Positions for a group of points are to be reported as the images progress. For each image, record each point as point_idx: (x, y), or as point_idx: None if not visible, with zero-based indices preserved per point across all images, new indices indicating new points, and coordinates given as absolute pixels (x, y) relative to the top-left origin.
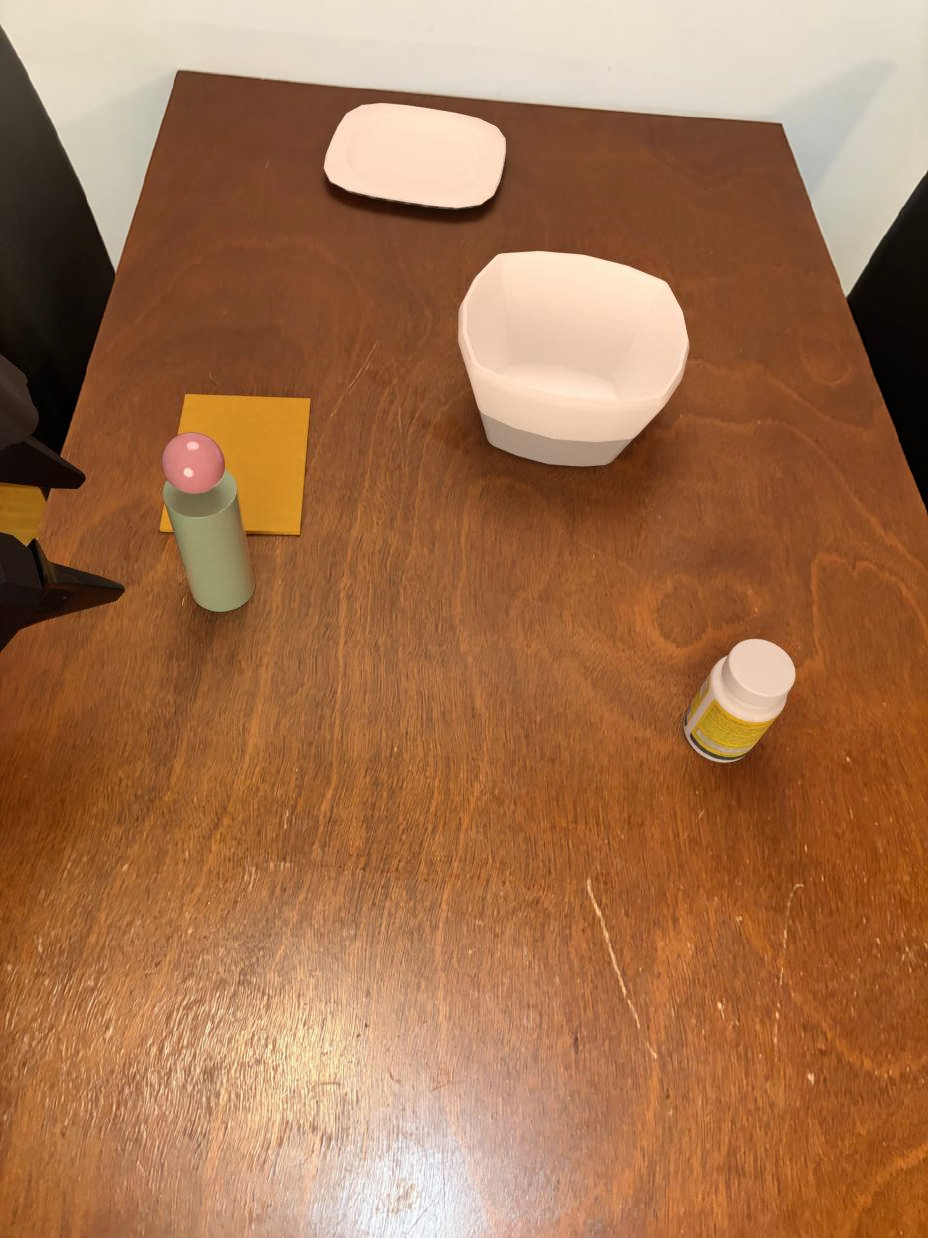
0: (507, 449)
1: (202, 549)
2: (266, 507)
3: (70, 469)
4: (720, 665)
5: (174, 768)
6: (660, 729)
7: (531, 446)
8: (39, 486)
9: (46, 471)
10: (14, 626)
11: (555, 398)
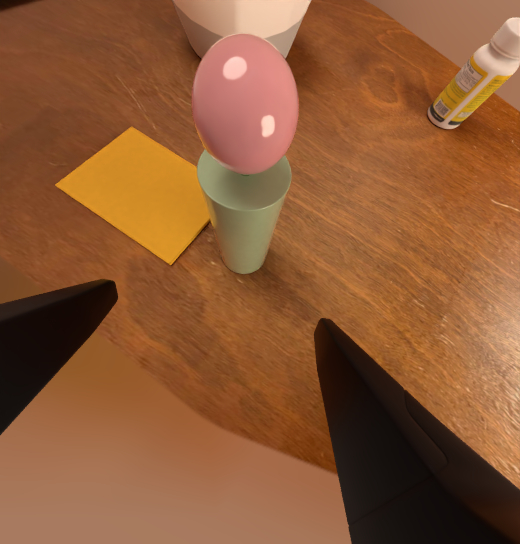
0: None
1: (273, 228)
2: (201, 196)
3: (86, 291)
4: (488, 56)
5: (361, 347)
6: (432, 133)
7: None
8: (76, 350)
9: (59, 329)
10: None
11: None
